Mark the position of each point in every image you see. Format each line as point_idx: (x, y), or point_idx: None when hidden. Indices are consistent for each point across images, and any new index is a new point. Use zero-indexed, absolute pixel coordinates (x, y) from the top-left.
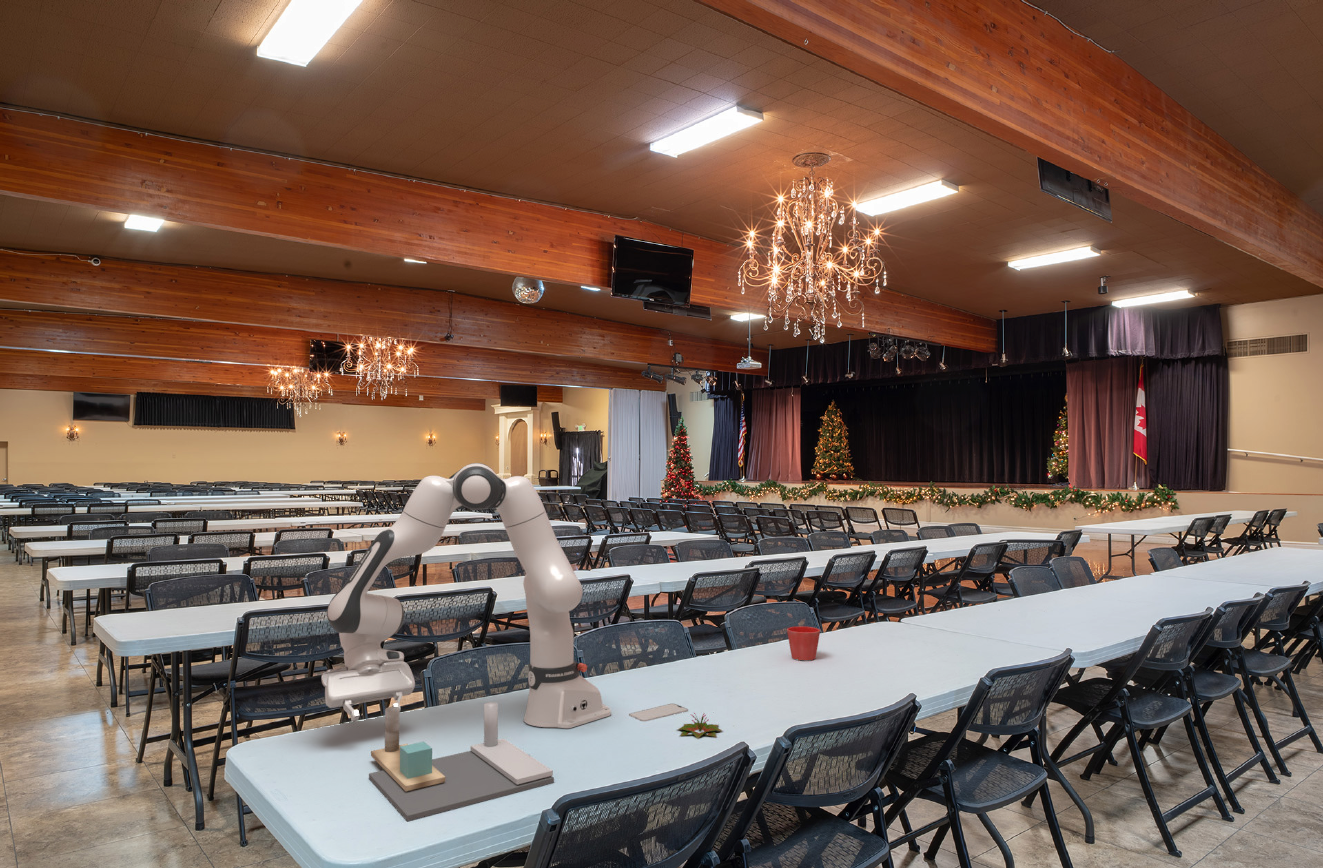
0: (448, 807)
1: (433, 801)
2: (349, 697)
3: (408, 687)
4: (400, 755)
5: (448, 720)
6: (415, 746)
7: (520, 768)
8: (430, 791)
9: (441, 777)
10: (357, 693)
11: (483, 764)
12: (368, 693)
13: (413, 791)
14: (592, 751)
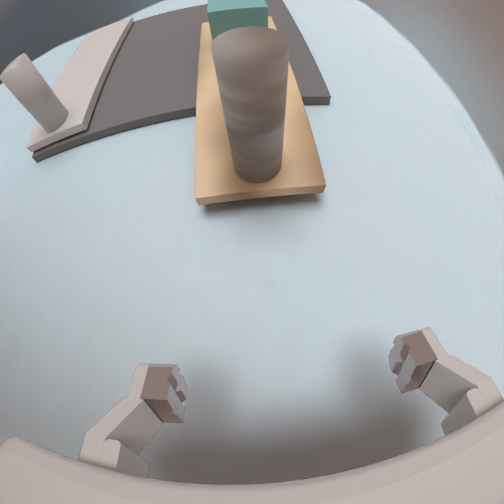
0: None
1: None
2: (497, 408)
3: (29, 446)
4: (267, 20)
5: (46, 435)
6: (235, 2)
7: (104, 37)
8: None
9: (208, 22)
10: (463, 448)
11: (114, 73)
12: (372, 472)
13: None
14: (4, 117)
